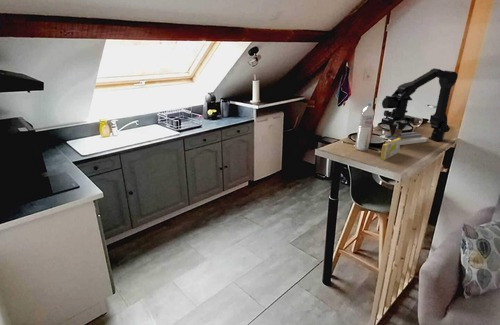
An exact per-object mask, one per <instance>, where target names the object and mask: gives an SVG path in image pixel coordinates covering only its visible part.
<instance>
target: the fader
mask: <svg viewBox="0 0 500 325" xmlns="http://www.w3.org/2000/svg"><path fill="white" fill-rule="evenodd" d="M401 133H403V130H400V129H398V127H396V129H395V132H394V134H393V135H392V137H394V136H395V137H396V136H401ZM388 135H391V132H390V130H388Z"/></svg>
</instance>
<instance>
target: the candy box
mask: <svg viewBox="0 0 500 325" xmlns="http://www.w3.org/2000/svg"><path fill="white" fill-rule="evenodd" d="M400 143H401V138H397V139H394V140H392V141H390V142H388V143H386V142H384V143H383V144H382V147H381V152H380V153H381V154H380V160H381V161H385V160H387V159H389V158H392V157H393V156H395V155H397V154H400V153H399V152H400V148H401V145H400Z"/></svg>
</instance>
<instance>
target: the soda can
mask: <svg viewBox="0 0 500 325" xmlns="http://www.w3.org/2000/svg"><path fill="white" fill-rule="evenodd" d="M373 132H374V124H373V125H372V131H371V136H370V141H369V142H370V143H371V142H372V138H373V137H372V136H373Z"/></svg>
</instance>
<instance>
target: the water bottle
mask: <svg viewBox="0 0 500 325" xmlns="http://www.w3.org/2000/svg"><path fill="white" fill-rule="evenodd" d="M375 115H376V111H375V109H374V108H373V107H372V103H367V106H365V107H364V108H362V109H361V111H360V116H359V117H360V118H359V123H358V128H357V132H356V133H357V134H356V138H355V139H356V141H355V144H354V145H355V146H354V148H355V150H357V151H361V152H366V151H368V150H369V146H370V143H369V141H370V136H371V131H372V125H373V126H374V118H375Z"/></svg>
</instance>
